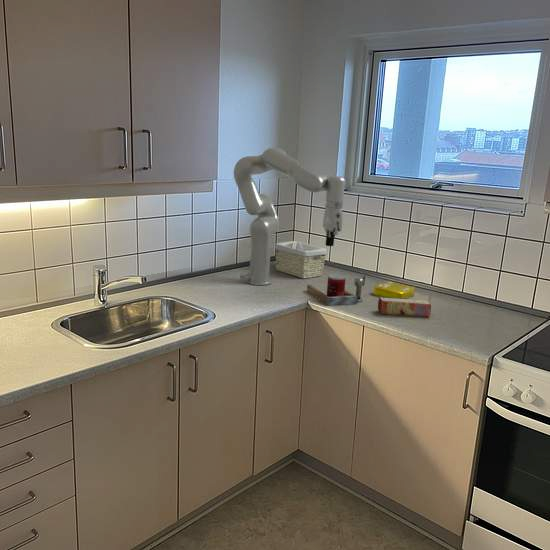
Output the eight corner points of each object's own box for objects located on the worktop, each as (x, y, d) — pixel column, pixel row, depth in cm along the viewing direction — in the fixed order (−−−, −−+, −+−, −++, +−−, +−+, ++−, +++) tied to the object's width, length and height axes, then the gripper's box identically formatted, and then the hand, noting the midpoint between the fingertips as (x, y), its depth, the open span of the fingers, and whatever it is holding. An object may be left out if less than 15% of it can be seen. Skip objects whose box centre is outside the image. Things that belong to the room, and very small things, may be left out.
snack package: (426, 313, 235) (428, 298, 233) (430, 318, 228) (432, 303, 226) (376, 310, 234) (378, 295, 233) (379, 315, 228) (381, 300, 226)
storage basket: (272, 269, 293) (274, 242, 289) (295, 266, 303) (297, 239, 299) (303, 280, 275) (305, 251, 271) (326, 276, 285) (328, 248, 281)
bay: (328, 305, 236) (329, 298, 235) (306, 291, 256) (307, 283, 256) (357, 303, 241) (357, 296, 240) (333, 289, 262) (334, 282, 261)
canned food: (343, 298, 249) (345, 274, 246) (344, 303, 241) (346, 279, 238) (325, 296, 249) (327, 273, 246) (326, 302, 242) (328, 277, 239)
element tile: (401, 302, 248) (402, 292, 247) (371, 295, 257) (372, 285, 256) (415, 296, 260) (416, 286, 259) (386, 289, 269) (387, 279, 267)
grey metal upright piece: (355, 302, 243) (358, 277, 240) (351, 299, 247) (353, 275, 244) (364, 301, 245) (367, 277, 242) (360, 299, 249) (362, 274, 246)
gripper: (349, 208, 237) (344, 249, 242) (333, 202, 251) (329, 242, 256) (333, 207, 235) (329, 249, 240) (318, 202, 248) (314, 242, 253)
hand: (329, 245), depth 248 cm, fingers closed
